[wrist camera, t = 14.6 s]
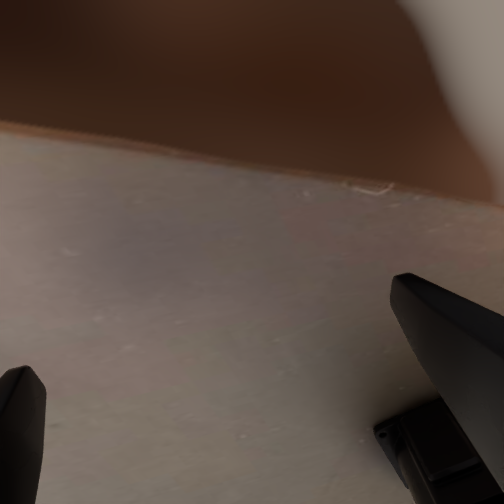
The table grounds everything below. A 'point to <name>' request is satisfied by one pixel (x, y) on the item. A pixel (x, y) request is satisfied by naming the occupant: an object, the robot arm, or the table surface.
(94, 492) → the table surface
